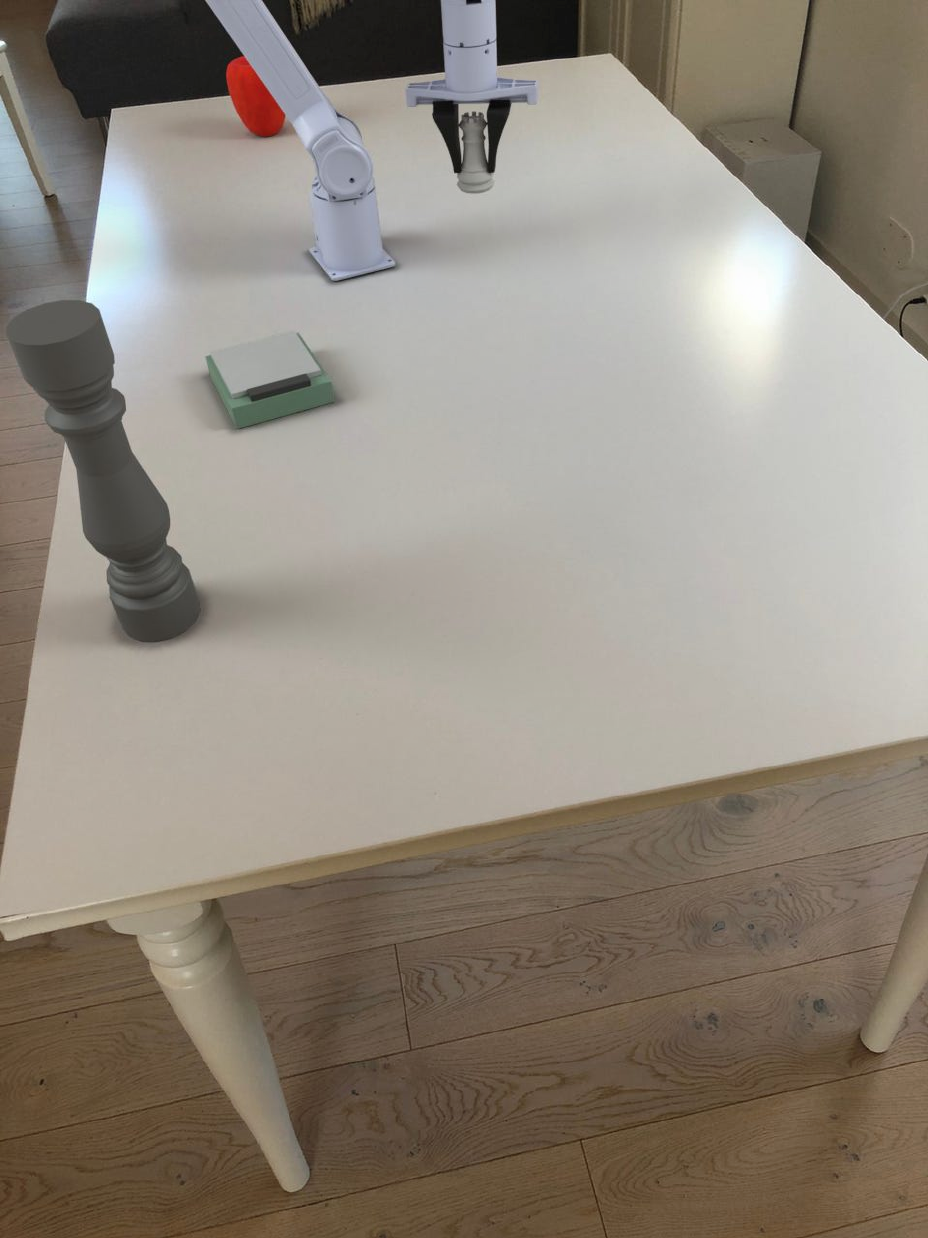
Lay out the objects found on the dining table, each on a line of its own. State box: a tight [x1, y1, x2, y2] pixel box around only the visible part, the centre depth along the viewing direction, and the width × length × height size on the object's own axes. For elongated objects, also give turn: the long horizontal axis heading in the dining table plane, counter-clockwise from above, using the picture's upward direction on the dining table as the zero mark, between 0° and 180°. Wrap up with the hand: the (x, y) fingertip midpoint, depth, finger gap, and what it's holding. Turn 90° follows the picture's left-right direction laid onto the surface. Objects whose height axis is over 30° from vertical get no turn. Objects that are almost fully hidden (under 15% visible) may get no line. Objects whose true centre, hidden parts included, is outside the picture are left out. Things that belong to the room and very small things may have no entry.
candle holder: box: [5, 299, 201, 643], centre depth 71 cm, size 6×6×25 cm
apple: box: [225, 55, 287, 138], centre depth 153 cm, size 9×9×11 cm
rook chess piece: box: [456, 111, 495, 195], centre depth 116 cm, size 4×4×8 cm
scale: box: [204, 329, 335, 430], centre depth 101 cm, size 11×10×3 cm
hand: (475, 169), depth 118 cm, fingers closed on rook chess piece, 3 cm apart
